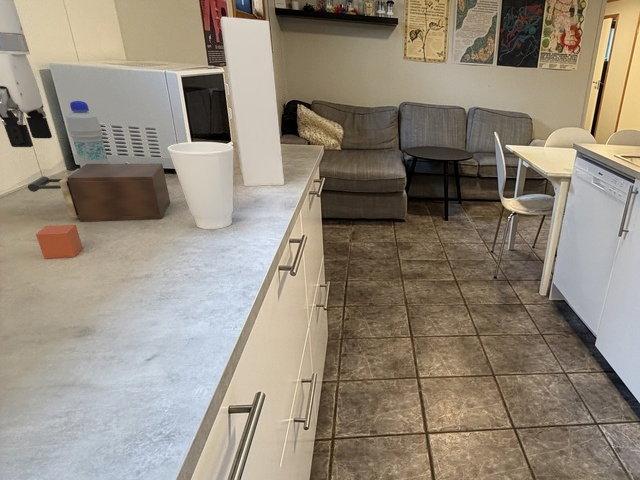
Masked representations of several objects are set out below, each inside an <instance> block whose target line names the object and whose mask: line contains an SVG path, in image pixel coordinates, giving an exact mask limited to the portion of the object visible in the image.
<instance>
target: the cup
mask: <svg viewBox="0 0 640 480" xmlns="http://www.w3.org/2000/svg"><path fill="white" fill-rule="evenodd" d="M234 150H235V148H234V146H233V145H232V144H228V143H224V142H216V141H188V142H179V143H174V144H171V145H169V146H167V151H168V153H169V155H170V158H171V162H172V164H173V167H174V169H175V172H176V175H177V178H178V182H179V184H180V187H181V189H182V192H183V195H184V198H185V201H186V203H187V206H188V209H189V212H190V215H192V216H193V219H194V222H195V225H196V227H197V228H199V229H204V230H217V229H224V228H227V227H229V226H231V225H232V224H233V222H232V221H233V219H232V213H233V212H234Z"/></svg>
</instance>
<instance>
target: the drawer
mask: <svg viewBox="0 0 640 480" xmlns="http://www.w3.org/2000/svg"><path fill="white" fill-rule="evenodd" d="M78 169H79V168H76V169H75V170H74V171H72V172H71V173H69V174H68V175H65V176H64V177H63V178H49V177H48V176H46V175H43V176H40V177H39V178H37V179H36V180H34V181H32V182H31V183H29V184H28V185H27V190H28V191H30V192H32V193H34V192H38V191H39V190H60V189H61V192H62V195H63V199H64V203H65V206H66V208H67V211H68V215H69V217H70V218H77V217H79V215H78V212H77V209H76V205H75V202H74V199H73V195H72V192H71V189H70V186H69V182H68V179H67V177H68V176H70V175H71V174H73V173H74V172H76V171H77V170H78ZM49 183H59V184H49Z"/></svg>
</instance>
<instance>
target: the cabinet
mask: <svg viewBox="0 0 640 480" xmlns="http://www.w3.org/2000/svg"><path fill="white" fill-rule="evenodd" d="M77 169H78V170H77V171H76V172H74V173H73V174H71V173H70V174H71V175H70V176H68V175H67V176H68V177H67V179H68V182H69V186H70V189H71V192H72V195H73V199H74V202H75V205H76V209H77V212H78V217H79V221H80V222H81V223H83V222H84V223H86V222H89V223H90V222H116V221H143V220H144V221H145V220H146V221H147V220H162V218H163V216H164V215H165V214H166V211H167V210H168V209H169V208H168V207H169V206H170V204H171V197H170V194H169V190H168V184H167V180H166V174H165V170H164V164H163V163H109V164H86V165H84V166H83V167H80V168H77Z"/></svg>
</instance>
